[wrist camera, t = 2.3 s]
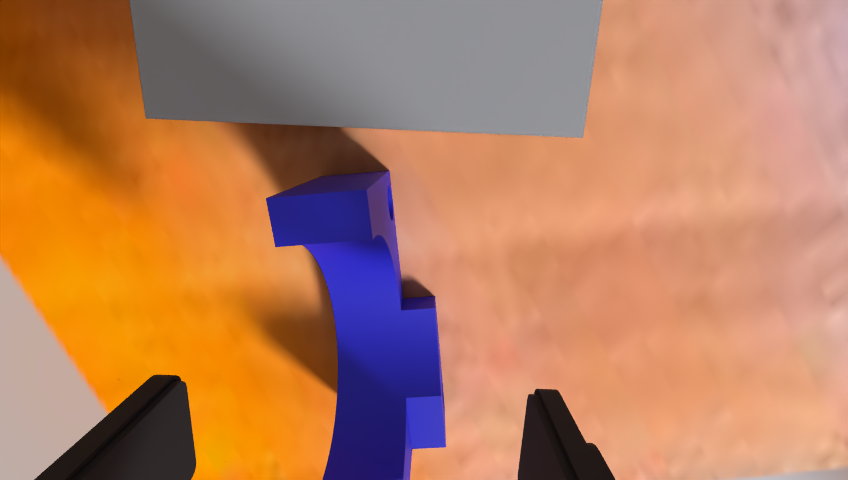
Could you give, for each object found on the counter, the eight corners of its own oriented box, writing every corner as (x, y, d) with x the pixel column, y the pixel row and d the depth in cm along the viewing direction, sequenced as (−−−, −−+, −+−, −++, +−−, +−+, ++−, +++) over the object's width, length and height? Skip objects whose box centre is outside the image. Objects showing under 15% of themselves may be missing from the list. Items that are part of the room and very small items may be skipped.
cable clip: (444, 402, 20) (447, 510, 15) (358, 407, 21) (327, 515, 15) (424, 167, 17) (417, 185, 11) (322, 176, 17) (266, 198, 12)
